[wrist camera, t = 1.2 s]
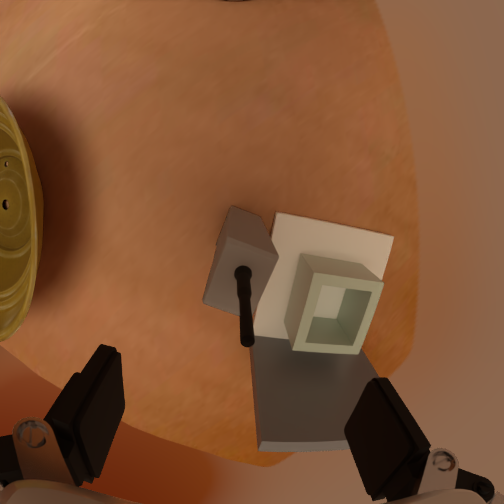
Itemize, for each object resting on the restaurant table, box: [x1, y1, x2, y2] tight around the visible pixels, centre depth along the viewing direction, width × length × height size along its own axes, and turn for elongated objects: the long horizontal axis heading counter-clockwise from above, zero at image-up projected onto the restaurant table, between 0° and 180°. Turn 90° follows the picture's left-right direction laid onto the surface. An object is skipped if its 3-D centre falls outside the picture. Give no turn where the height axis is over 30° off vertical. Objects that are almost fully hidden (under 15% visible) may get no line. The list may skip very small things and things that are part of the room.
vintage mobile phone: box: [203, 206, 279, 347], centre depth 24 cm, size 4×5×25 cm
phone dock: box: [249, 211, 394, 452], centre depth 30 cm, size 18×16×19 cm
